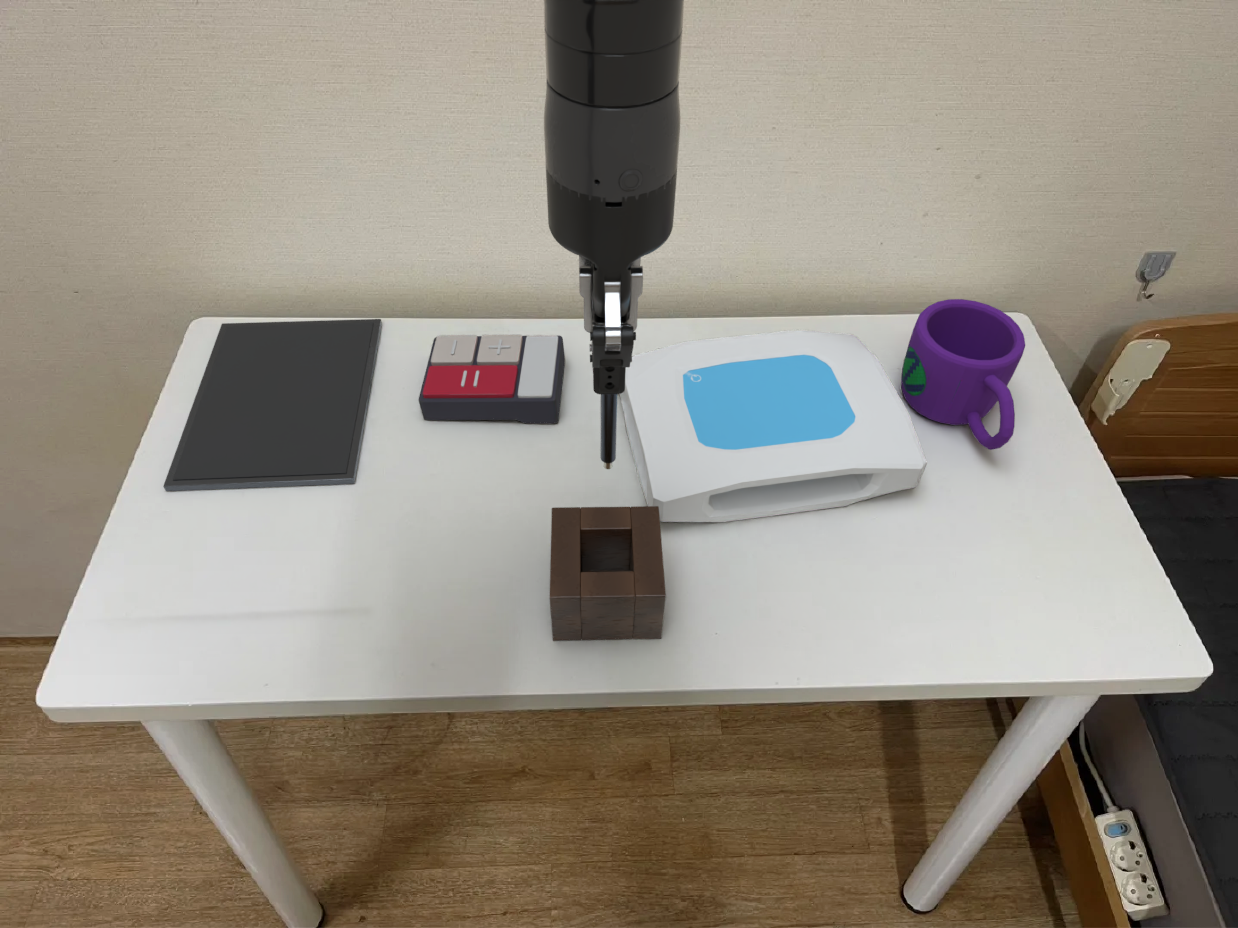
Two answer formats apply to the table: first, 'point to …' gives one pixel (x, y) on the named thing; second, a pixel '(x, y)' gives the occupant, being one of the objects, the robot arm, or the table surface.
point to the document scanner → (766, 426)
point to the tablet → (279, 406)
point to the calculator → (494, 378)
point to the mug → (963, 366)
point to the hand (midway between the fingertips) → (608, 382)
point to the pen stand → (606, 573)
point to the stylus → (608, 429)
